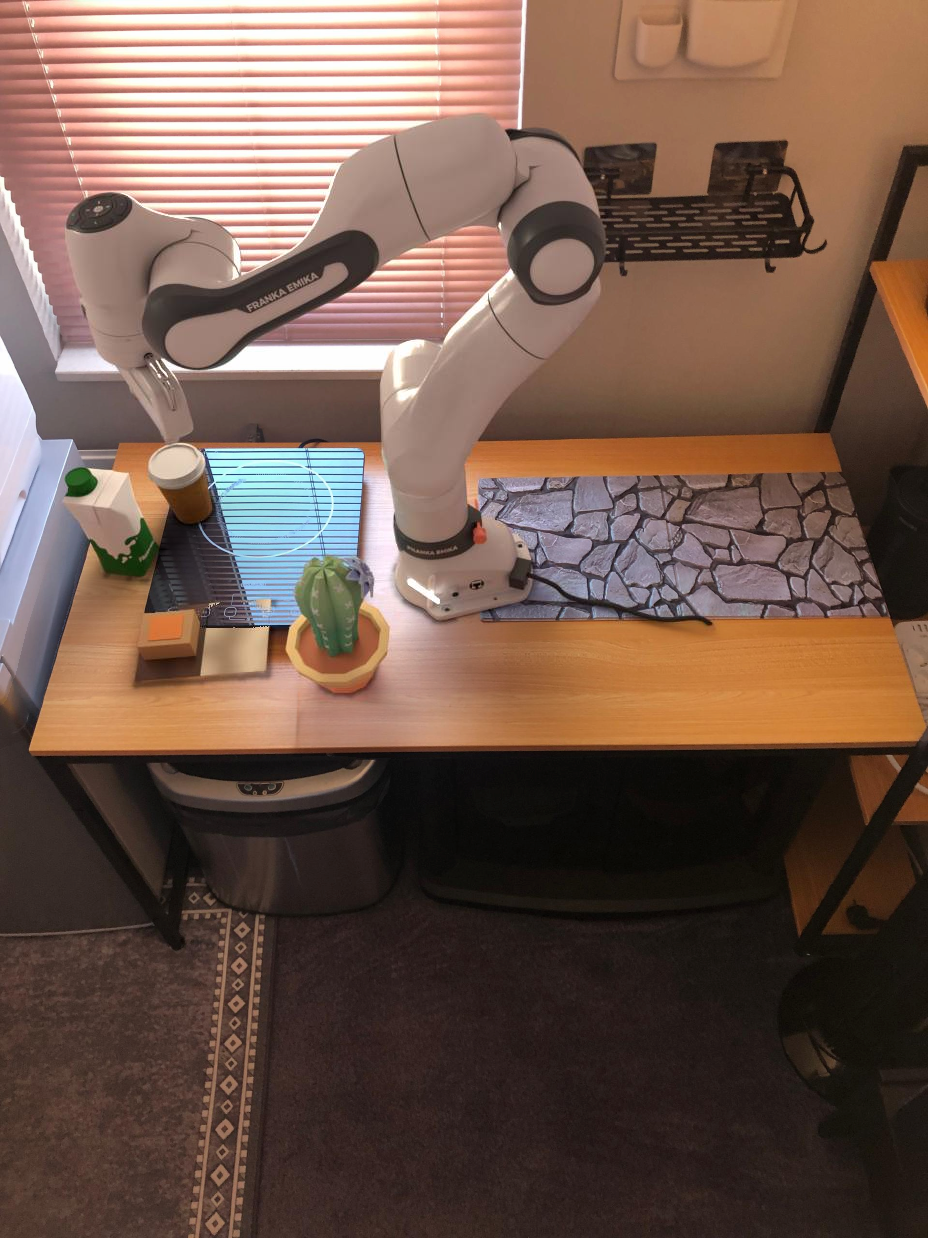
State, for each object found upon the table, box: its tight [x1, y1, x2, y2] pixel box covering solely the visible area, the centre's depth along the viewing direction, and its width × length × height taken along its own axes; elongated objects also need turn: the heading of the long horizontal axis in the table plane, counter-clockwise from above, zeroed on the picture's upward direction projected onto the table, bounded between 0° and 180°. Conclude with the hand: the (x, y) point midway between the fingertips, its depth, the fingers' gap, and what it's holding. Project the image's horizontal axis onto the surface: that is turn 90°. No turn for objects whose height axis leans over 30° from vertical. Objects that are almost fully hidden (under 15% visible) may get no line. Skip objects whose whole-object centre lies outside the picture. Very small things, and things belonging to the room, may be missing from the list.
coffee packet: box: [136, 609, 200, 660], centre depth 146 cm, size 8×6×4 cm
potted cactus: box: [285, 554, 391, 694], centre depth 134 cm, size 15×15×25 cm
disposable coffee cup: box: [147, 442, 213, 525], centre depth 161 cm, size 10×10×12 cm
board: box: [134, 597, 272, 682], centre depth 148 cm, size 20×14×1 cm
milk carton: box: [61, 466, 160, 578], centre depth 151 cm, size 9×9×20 cm
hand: (155, 417), depth 123 cm, fingers open, 8 cm apart
